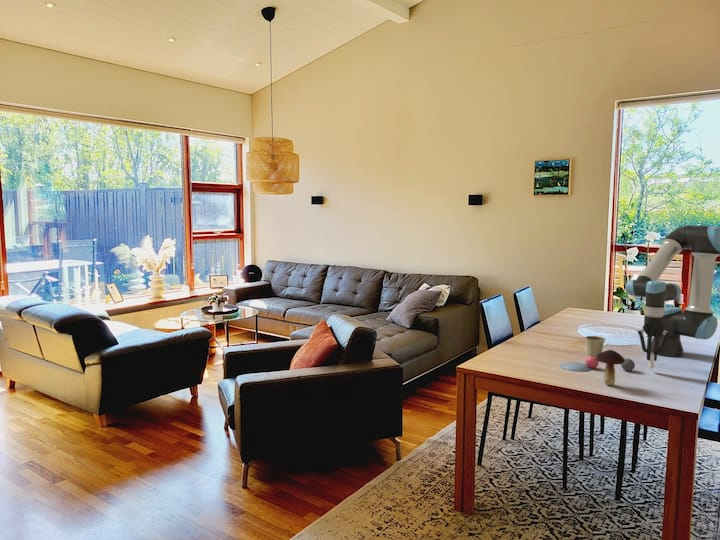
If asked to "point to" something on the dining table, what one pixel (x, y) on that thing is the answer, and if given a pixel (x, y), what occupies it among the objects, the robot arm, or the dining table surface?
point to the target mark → (575, 366)
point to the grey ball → (628, 365)
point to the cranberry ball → (592, 362)
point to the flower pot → (594, 345)
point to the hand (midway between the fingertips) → (651, 367)
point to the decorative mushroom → (610, 364)
